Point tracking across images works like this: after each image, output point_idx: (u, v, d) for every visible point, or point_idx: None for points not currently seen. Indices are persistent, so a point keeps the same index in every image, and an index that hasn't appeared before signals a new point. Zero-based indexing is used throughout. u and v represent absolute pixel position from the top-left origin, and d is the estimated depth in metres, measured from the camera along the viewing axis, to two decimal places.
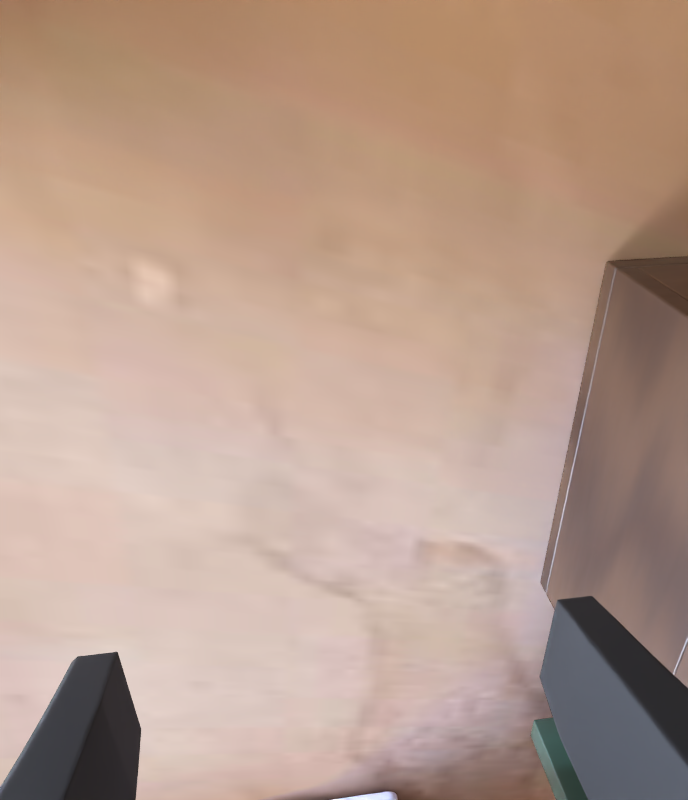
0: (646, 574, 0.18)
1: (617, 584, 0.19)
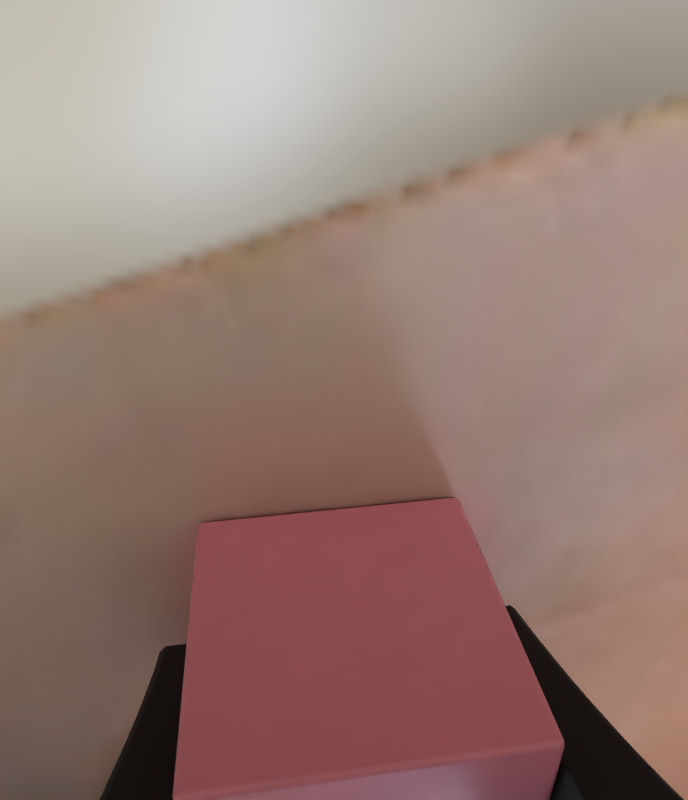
0: None
1: None
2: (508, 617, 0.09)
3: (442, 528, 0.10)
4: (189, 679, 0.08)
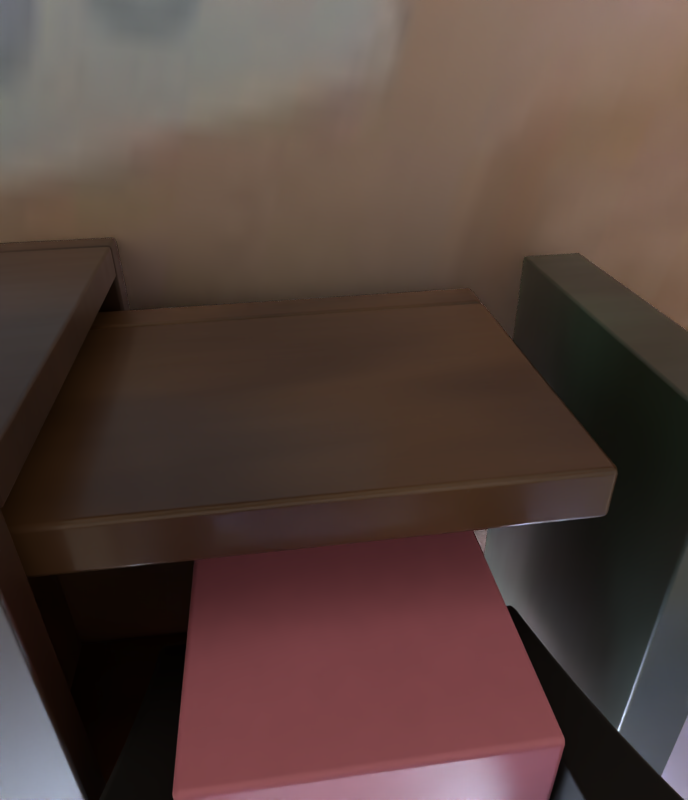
0: None
1: None
2: (508, 615, 0.09)
3: None
4: (189, 677, 0.08)
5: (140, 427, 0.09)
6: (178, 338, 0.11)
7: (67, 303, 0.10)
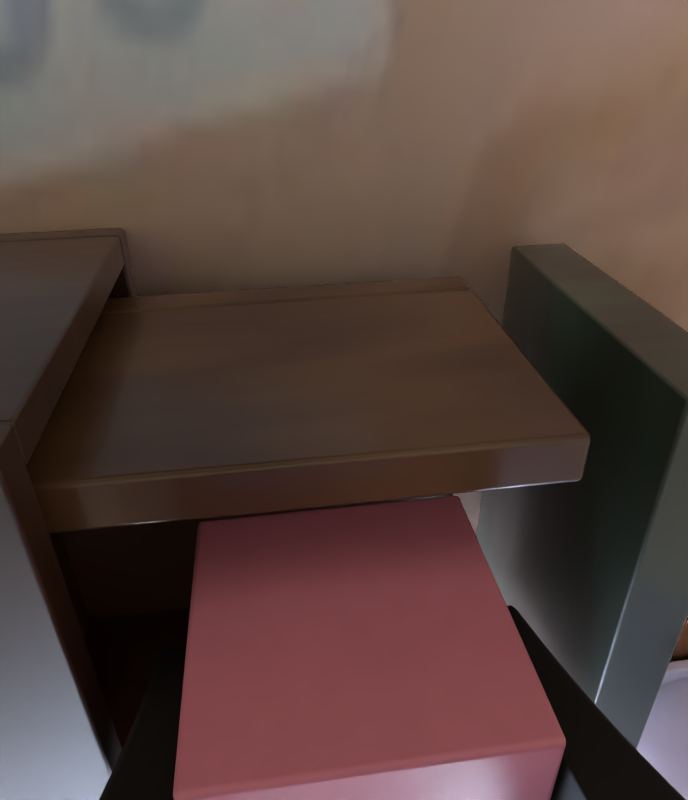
0: None
1: None
2: (509, 615, 0.09)
3: (443, 526, 0.10)
4: (189, 677, 0.08)
5: (149, 399, 0.09)
6: (184, 321, 0.12)
7: (81, 286, 0.10)
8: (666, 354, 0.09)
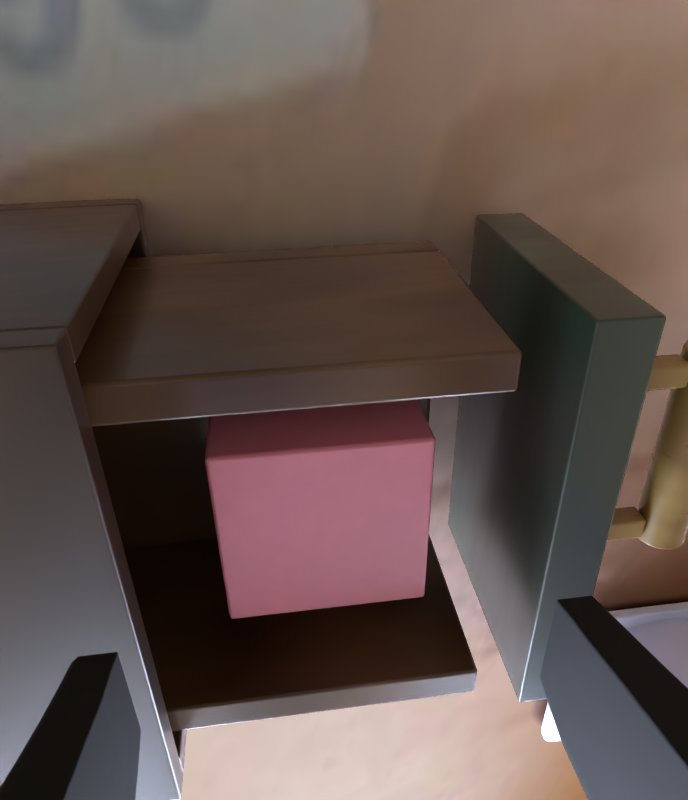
0: None
1: None
2: None
3: None
4: (212, 417, 0.13)
5: (166, 329, 0.11)
6: (193, 275, 0.14)
7: (108, 240, 0.12)
8: (588, 291, 0.11)
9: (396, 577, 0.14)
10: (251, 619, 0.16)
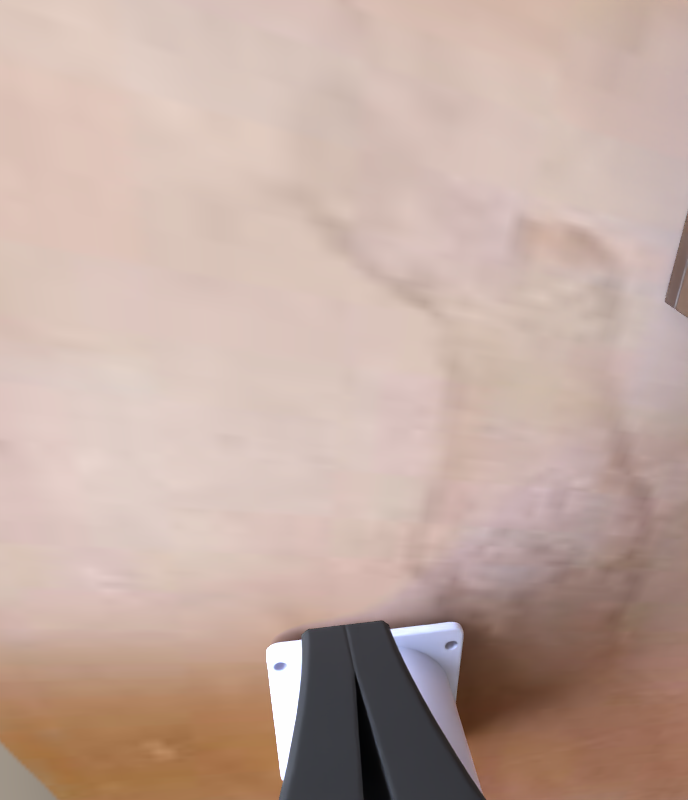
0: None
1: None
2: None
3: None
4: None
5: None
6: None
7: None
8: None
9: None
10: None
